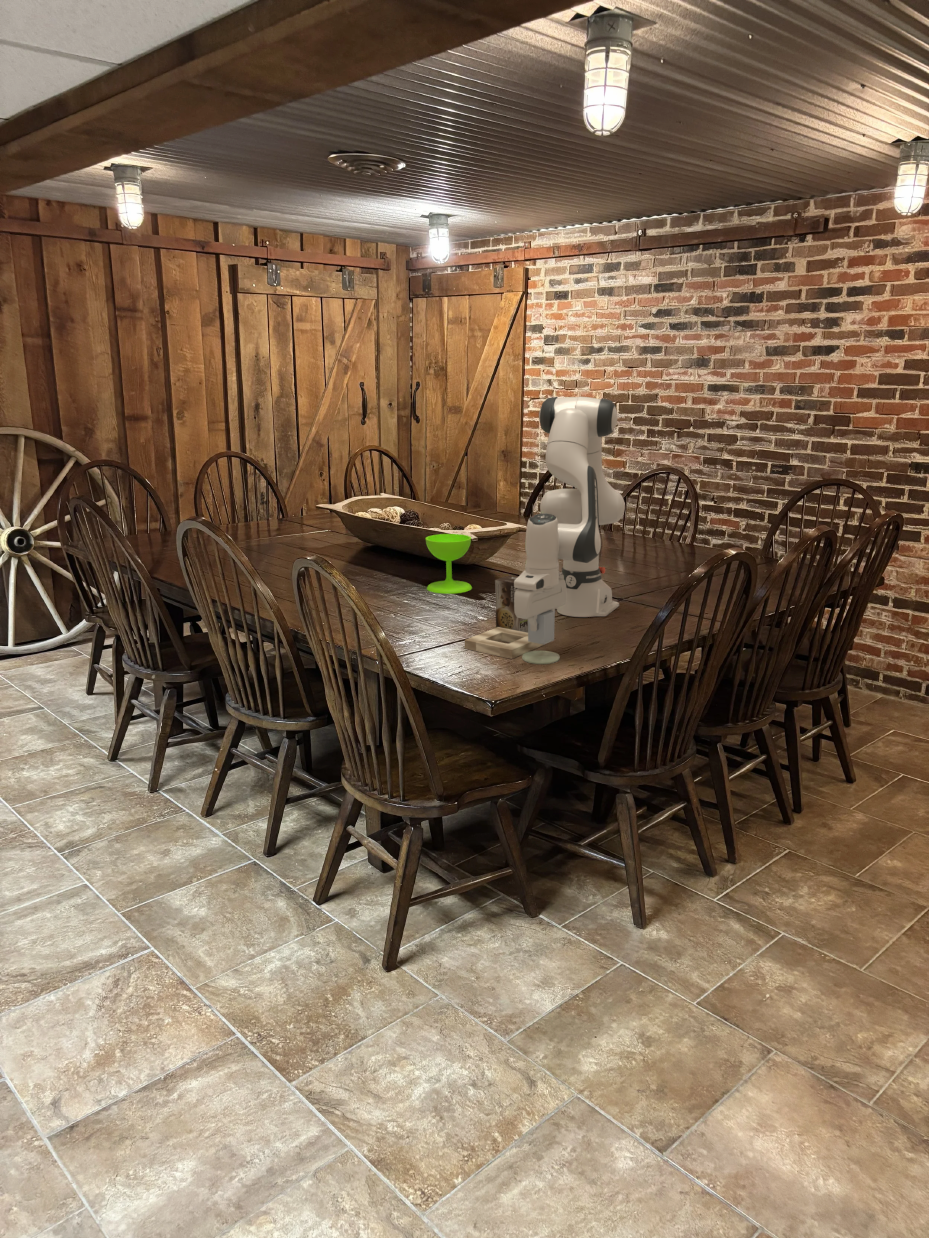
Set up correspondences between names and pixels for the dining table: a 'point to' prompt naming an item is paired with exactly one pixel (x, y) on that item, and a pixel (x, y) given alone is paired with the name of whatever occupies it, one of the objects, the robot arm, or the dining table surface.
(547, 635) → the block
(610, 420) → the robot arm
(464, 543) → the wineglass
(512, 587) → the coffee box
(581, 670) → the dining table surface
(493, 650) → the pocket board
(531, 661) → the pad
